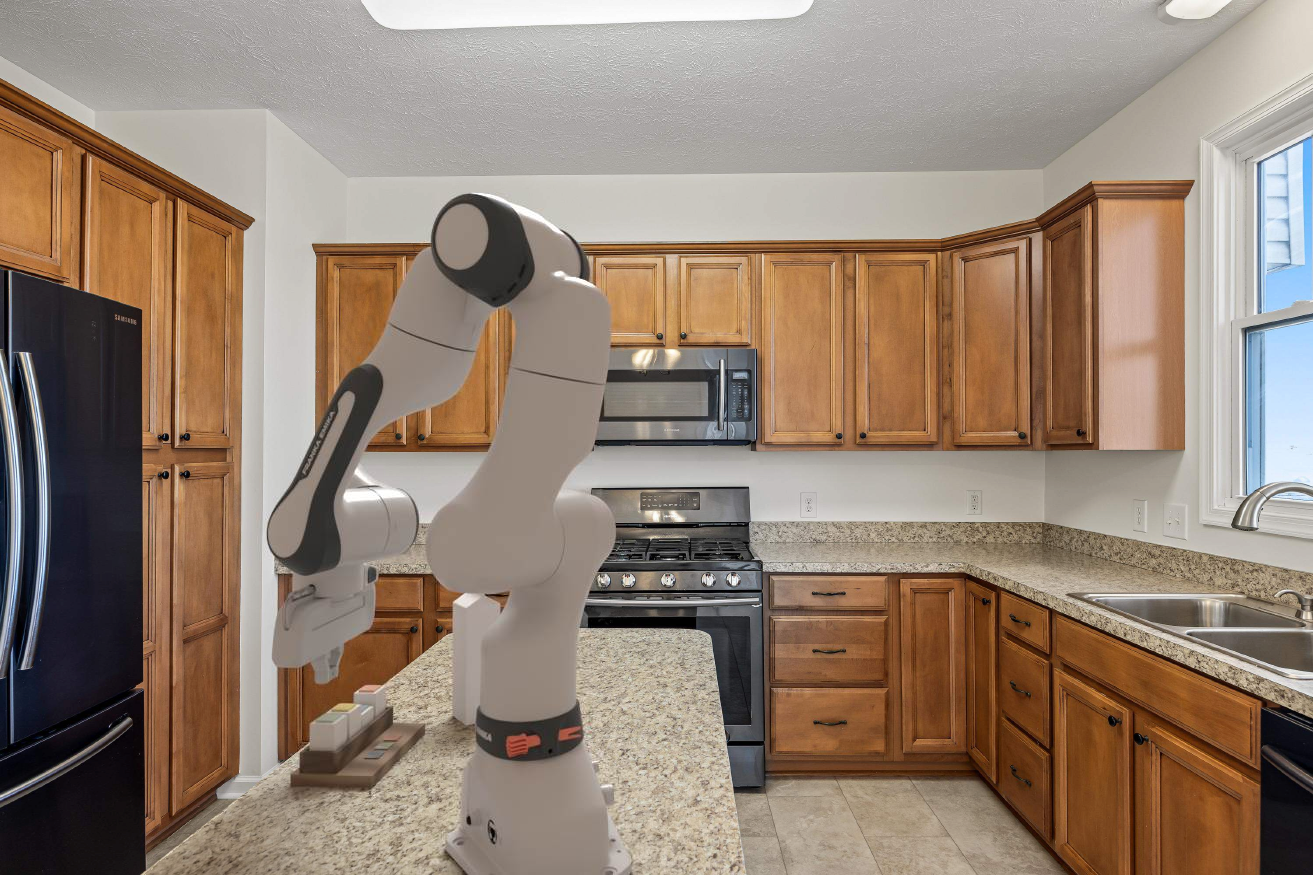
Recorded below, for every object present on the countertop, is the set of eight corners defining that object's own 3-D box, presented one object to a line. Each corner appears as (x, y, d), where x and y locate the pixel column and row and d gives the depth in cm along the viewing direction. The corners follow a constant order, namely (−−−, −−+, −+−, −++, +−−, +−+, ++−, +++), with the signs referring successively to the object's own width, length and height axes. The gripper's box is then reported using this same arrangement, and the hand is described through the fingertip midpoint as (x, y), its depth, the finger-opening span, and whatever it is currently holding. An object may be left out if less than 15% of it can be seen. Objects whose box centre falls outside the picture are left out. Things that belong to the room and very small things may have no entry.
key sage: (334, 753, 92) (334, 721, 92) (309, 752, 92) (309, 721, 93) (346, 742, 96) (347, 712, 96) (323, 742, 96) (323, 712, 96)
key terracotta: (375, 718, 104) (375, 691, 104) (353, 718, 104) (353, 691, 105) (385, 710, 108) (385, 684, 108) (364, 710, 108) (364, 683, 108)
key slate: (362, 741, 100) (362, 712, 100) (339, 740, 100) (339, 711, 100) (373, 731, 104) (373, 703, 104) (351, 731, 104) (351, 703, 104)
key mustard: (349, 740, 96) (349, 710, 96) (325, 740, 96) (325, 710, 97) (361, 731, 100) (361, 702, 100) (338, 730, 100) (338, 701, 100)
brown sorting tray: (372, 787, 91) (372, 754, 91) (290, 785, 91) (290, 753, 91) (425, 732, 109) (425, 705, 109) (356, 731, 109) (356, 704, 109)
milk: (465, 726, 111) (465, 588, 112) (451, 715, 116) (451, 582, 116) (501, 717, 115) (500, 583, 115) (486, 707, 120) (485, 578, 120)
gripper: (309, 595, 84) (306, 709, 84) (384, 566, 105) (382, 658, 104) (258, 593, 85) (256, 708, 84) (343, 565, 105) (341, 657, 105)
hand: (326, 680), depth 95 cm, fingers closed
